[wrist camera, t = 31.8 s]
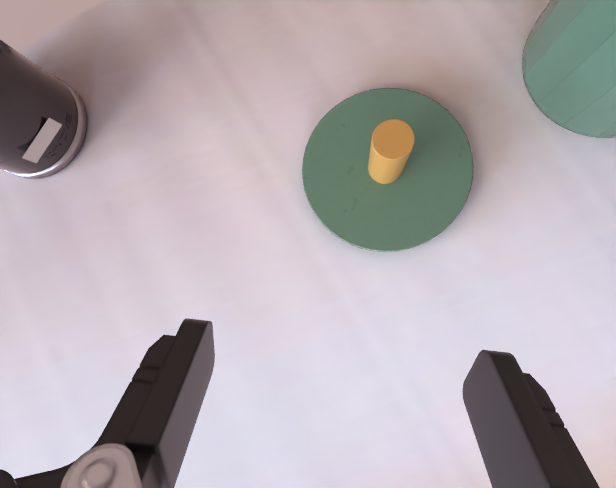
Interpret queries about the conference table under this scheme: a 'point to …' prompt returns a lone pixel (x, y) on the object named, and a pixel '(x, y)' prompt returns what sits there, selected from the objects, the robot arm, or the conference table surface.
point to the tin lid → (387, 169)
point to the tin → (574, 65)
